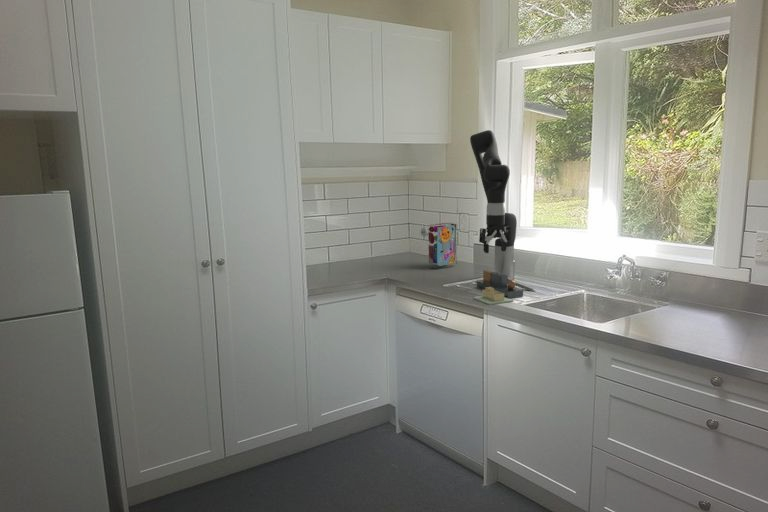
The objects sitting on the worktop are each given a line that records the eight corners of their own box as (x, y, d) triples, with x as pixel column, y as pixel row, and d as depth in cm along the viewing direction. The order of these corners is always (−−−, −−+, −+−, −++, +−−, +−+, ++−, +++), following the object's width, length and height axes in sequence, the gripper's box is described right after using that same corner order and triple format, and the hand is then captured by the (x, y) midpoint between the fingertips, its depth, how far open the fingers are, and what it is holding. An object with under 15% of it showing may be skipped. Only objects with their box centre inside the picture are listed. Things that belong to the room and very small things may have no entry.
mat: (496, 295, 245) (496, 294, 245) (513, 301, 234) (513, 300, 234) (473, 298, 240) (473, 297, 240) (489, 304, 229) (489, 303, 229)
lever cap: (491, 295, 242) (491, 286, 241) (504, 300, 234) (504, 290, 233) (482, 296, 240) (482, 287, 239) (494, 301, 232) (494, 291, 231)
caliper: (495, 285, 265) (496, 272, 264) (497, 285, 266) (497, 272, 265) (535, 292, 251) (535, 278, 250) (536, 291, 252) (536, 278, 251)
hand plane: (490, 285, 264) (491, 269, 262) (523, 296, 242) (523, 278, 241) (476, 287, 261) (477, 270, 259) (507, 298, 239) (508, 280, 238)
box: (424, 272, 296) (424, 226, 292) (416, 270, 301) (416, 225, 297) (457, 266, 311) (457, 223, 307) (449, 264, 316) (449, 222, 312)
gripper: (504, 211, 237) (503, 249, 240) (476, 213, 231) (475, 252, 234) (515, 213, 230) (514, 251, 233) (486, 215, 224) (485, 254, 227)
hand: (494, 252), depth 233 cm, fingers open, 8 cm apart
